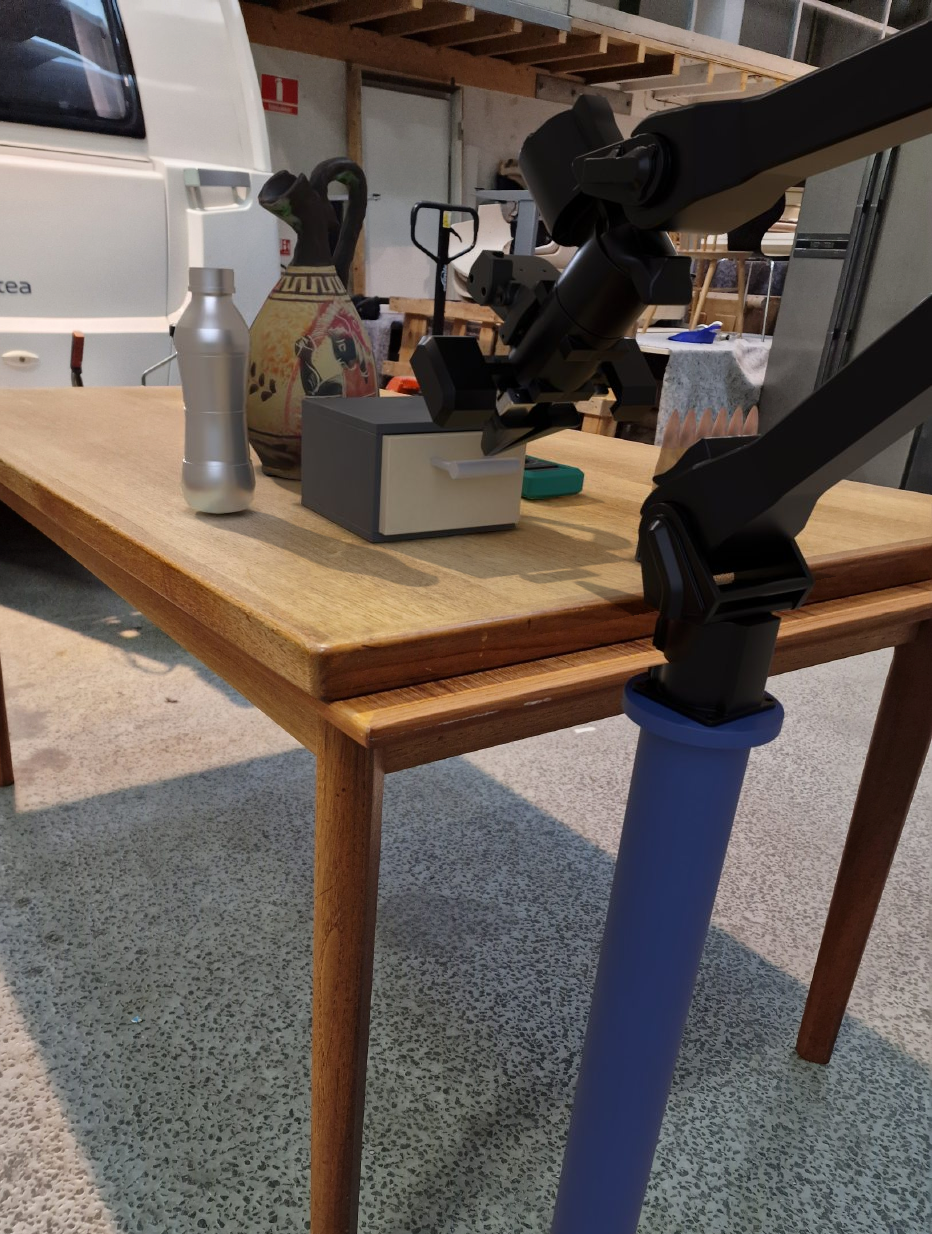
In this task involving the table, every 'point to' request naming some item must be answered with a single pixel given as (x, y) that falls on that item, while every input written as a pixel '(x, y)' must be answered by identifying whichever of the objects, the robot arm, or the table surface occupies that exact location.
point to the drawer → (447, 482)
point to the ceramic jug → (308, 316)
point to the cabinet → (360, 459)
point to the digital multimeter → (550, 479)
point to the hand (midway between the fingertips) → (486, 451)
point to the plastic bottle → (214, 395)
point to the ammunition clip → (698, 436)
